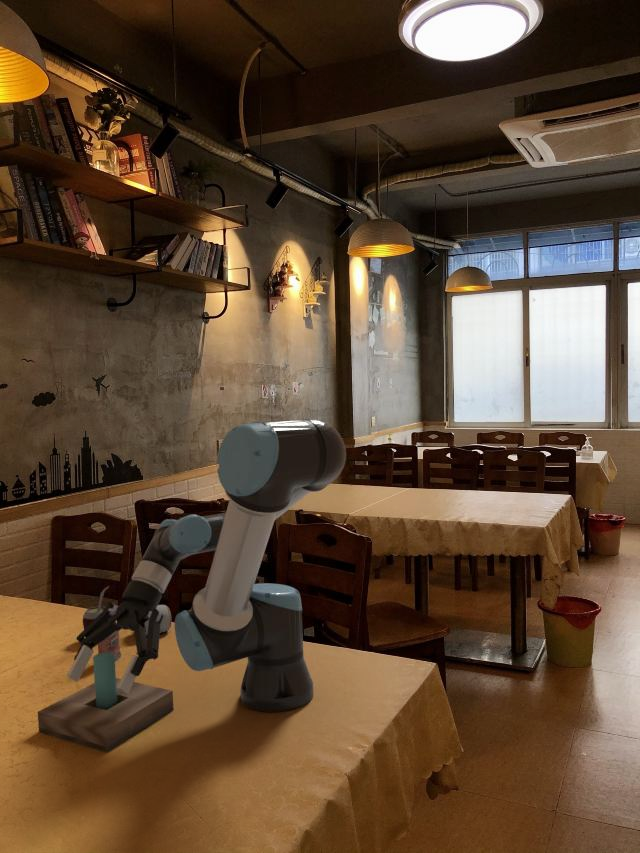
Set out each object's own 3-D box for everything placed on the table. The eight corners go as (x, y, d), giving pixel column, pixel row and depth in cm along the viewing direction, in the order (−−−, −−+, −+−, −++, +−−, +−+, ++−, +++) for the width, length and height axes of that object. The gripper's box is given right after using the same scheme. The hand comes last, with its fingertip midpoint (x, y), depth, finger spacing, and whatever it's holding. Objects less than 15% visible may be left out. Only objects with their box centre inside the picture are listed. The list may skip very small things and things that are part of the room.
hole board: (173, 709, 141) (172, 690, 140) (107, 752, 125) (105, 730, 125) (108, 694, 149) (107, 676, 149) (38, 732, 134) (37, 711, 133)
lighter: (108, 668, 164) (105, 626, 164) (94, 667, 165) (92, 625, 164) (124, 654, 172) (121, 615, 171) (111, 654, 173) (109, 614, 172)
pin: (122, 713, 138) (118, 653, 137) (107, 722, 134) (103, 661, 134) (107, 709, 140) (104, 651, 139) (92, 718, 136) (88, 658, 136)
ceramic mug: (173, 633, 186) (172, 605, 186) (143, 640, 182) (141, 611, 181) (160, 624, 195) (159, 596, 195) (131, 630, 191) (130, 602, 190)
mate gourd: (87, 635, 187) (84, 580, 186) (117, 633, 188) (114, 578, 187) (80, 645, 180) (77, 588, 179) (112, 643, 181) (108, 586, 180)
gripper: (201, 602, 143) (155, 704, 131) (113, 590, 156) (63, 682, 143) (183, 584, 139) (134, 687, 126) (93, 572, 151) (40, 666, 138)
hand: (96, 684), depth 135 cm, fingers open, 13 cm apart
